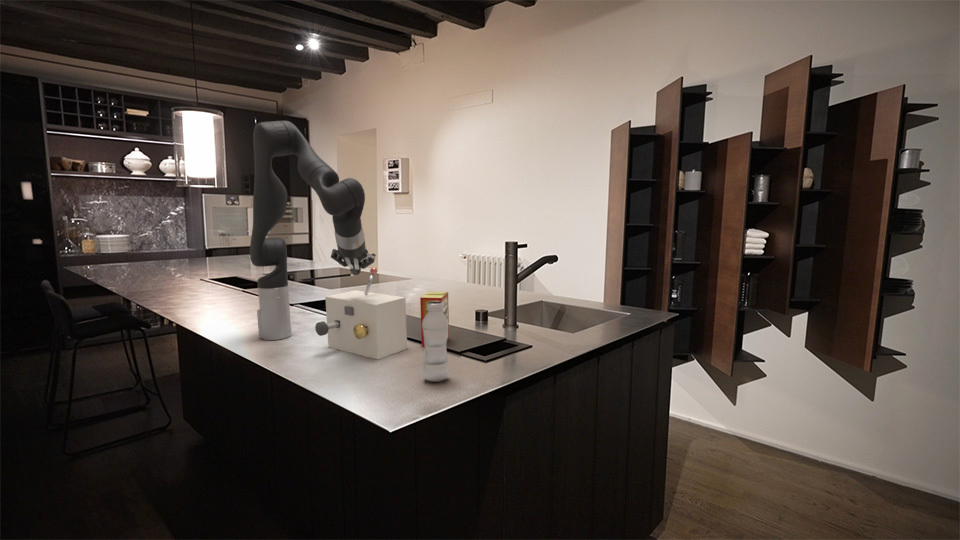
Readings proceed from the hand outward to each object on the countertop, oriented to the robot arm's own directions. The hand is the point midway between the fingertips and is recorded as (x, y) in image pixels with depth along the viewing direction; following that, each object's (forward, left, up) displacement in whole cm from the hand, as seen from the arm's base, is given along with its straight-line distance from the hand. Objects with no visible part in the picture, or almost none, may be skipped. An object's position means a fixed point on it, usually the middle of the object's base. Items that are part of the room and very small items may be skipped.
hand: (356, 272), depth 146 cm
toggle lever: (+2, 0, -8) cm, 8 cm away
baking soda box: (+22, +7, -24) cm, 33 cm away
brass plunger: (+5, -7, -17) cm, 20 cm away
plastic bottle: (+29, -24, -24) cm, 45 cm away
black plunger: (-7, -5, -18) cm, 20 cm away
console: (+2, 0, -24) cm, 24 cm away
